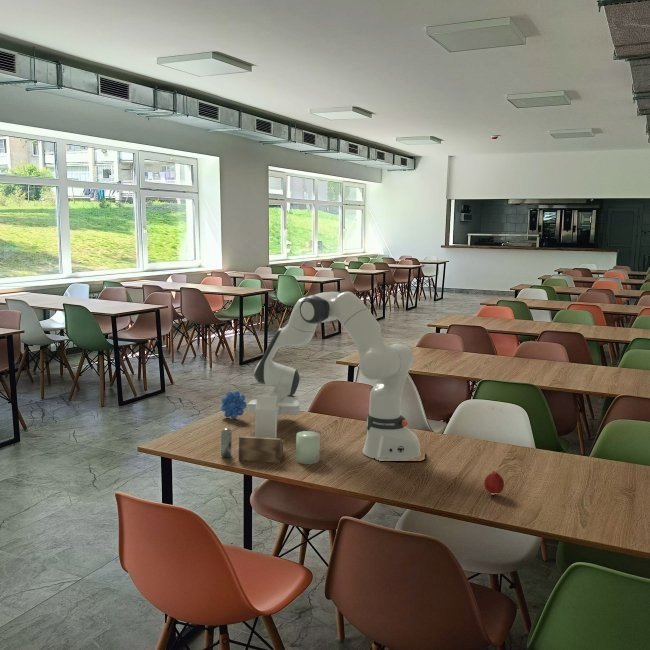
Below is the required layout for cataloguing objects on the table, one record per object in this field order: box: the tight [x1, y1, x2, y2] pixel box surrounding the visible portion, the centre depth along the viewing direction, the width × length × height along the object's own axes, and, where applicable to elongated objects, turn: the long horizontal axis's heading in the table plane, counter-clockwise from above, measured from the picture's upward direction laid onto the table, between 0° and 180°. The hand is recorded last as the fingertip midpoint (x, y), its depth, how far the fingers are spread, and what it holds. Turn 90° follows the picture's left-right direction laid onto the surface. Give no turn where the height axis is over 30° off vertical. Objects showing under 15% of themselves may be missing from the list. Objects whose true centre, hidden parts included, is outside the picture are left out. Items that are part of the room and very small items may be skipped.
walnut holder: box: [238, 435, 285, 463], centre depth 221 cm, size 14×9×8 cm, turn 86°
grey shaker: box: [220, 427, 233, 459], centre depth 221 cm, size 4×4×10 cm
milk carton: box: [254, 395, 278, 438], centre depth 230 cm, size 7×7×19 cm
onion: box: [483, 470, 505, 494], centre depth 196 cm, size 6×6×8 cm
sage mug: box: [295, 430, 321, 465], centre depth 221 cm, size 8×11×9 cm
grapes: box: [220, 390, 248, 420], centre depth 264 cm, size 12×7×12 cm, turn 69°
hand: (271, 412), depth 242 cm, fingers closed
